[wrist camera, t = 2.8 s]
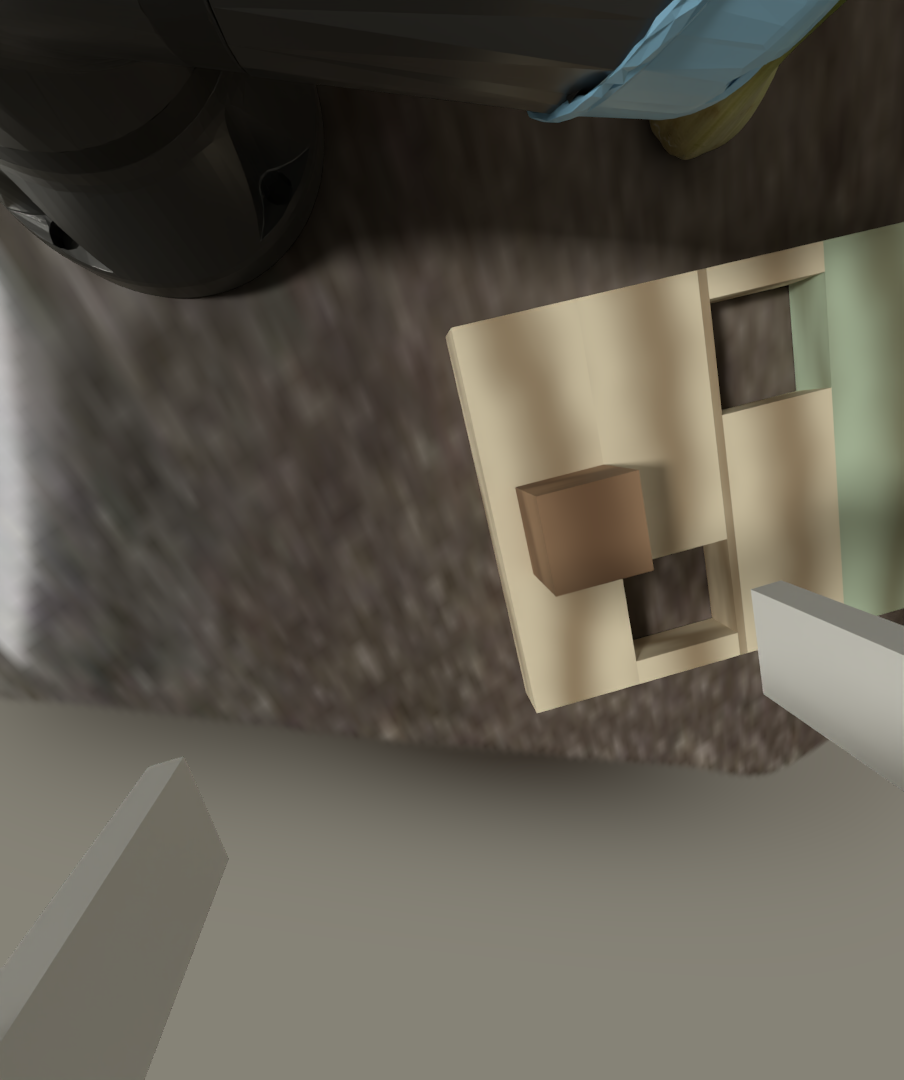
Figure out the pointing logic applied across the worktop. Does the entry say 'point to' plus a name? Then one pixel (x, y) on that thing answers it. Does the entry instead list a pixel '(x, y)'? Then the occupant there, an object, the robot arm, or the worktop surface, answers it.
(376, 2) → the robot arm
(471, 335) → the board
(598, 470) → the block
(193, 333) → the worktop surface
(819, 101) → the worktop surface
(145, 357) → the worktop surface
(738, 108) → the fennel bulb
